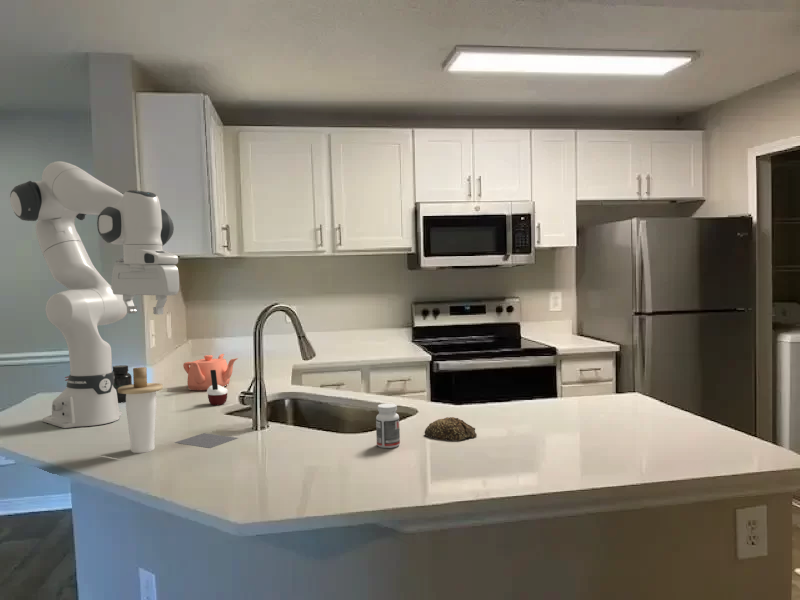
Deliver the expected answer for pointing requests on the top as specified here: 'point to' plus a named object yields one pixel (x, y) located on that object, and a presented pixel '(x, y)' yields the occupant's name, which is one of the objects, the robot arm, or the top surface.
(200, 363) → the pot
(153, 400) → the drinking glass
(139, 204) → the robot arm
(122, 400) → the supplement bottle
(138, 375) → the lid
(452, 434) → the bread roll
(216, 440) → the mat
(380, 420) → the pill bottle
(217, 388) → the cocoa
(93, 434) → the top surface
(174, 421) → the top surface
